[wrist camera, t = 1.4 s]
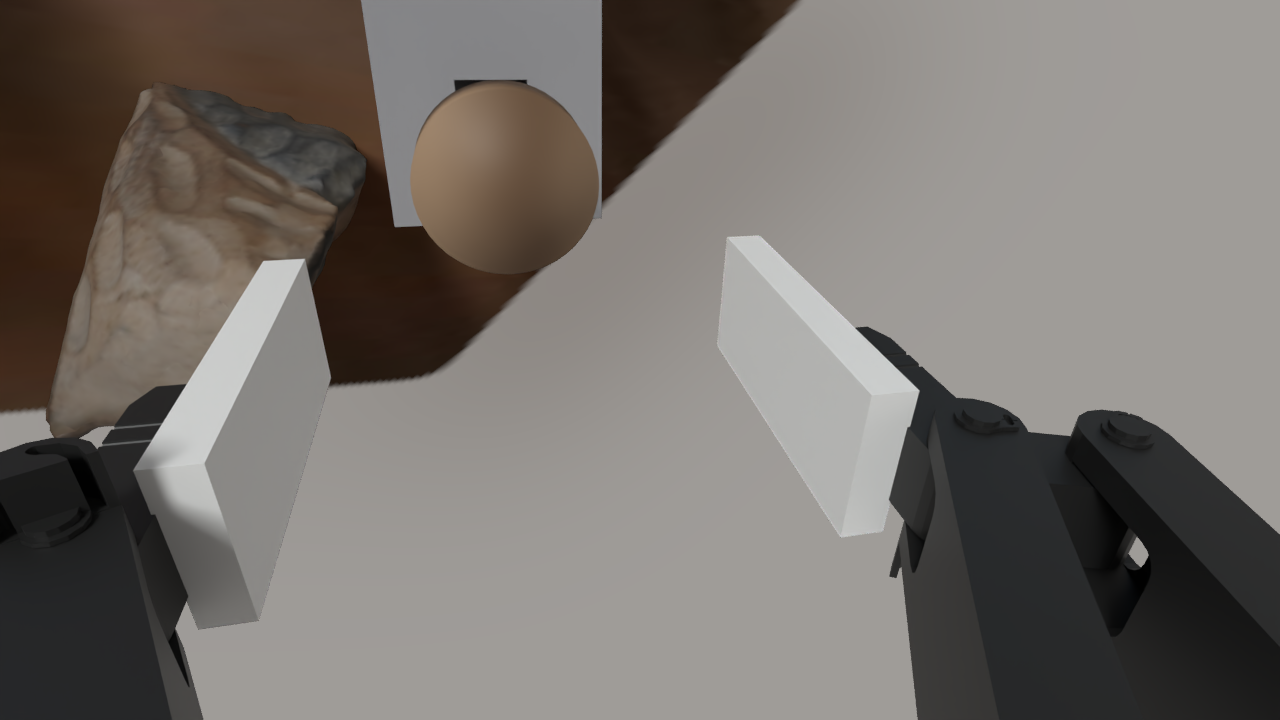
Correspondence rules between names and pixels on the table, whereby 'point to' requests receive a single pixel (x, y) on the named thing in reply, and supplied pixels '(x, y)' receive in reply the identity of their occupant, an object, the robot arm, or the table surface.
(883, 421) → the robot arm
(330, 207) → the owl
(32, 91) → the table surface
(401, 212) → the short press
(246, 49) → the table surface
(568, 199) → the tan rounded piece
